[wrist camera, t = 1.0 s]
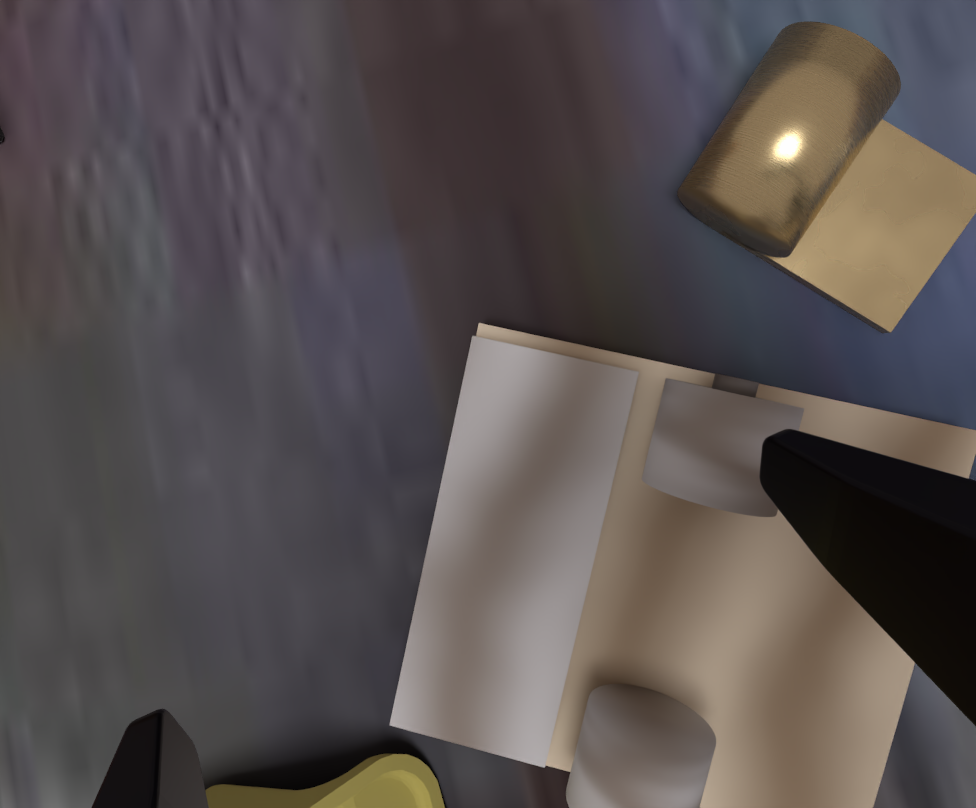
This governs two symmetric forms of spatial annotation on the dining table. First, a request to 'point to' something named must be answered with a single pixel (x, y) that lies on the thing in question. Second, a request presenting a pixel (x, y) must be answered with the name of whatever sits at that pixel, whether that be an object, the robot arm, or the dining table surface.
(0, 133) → the ammunition clip
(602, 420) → the hinge base
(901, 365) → the dining table surface
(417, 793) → the plastic component
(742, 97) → the brass cylinder with flap
